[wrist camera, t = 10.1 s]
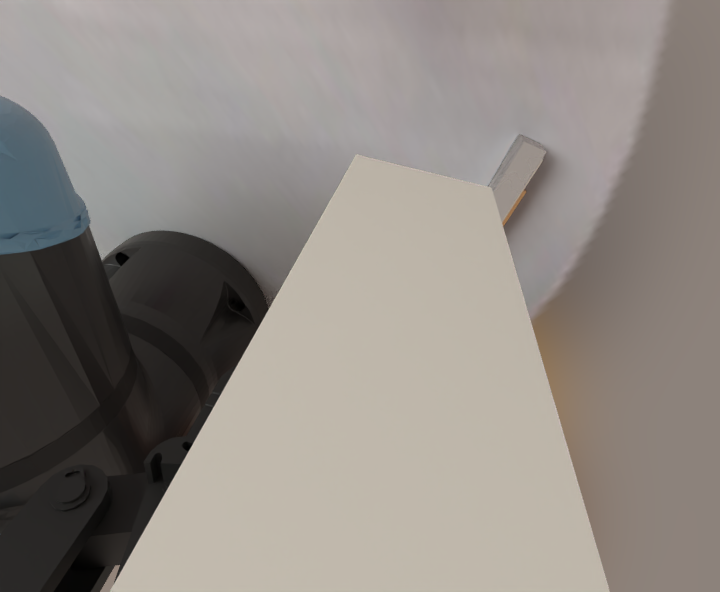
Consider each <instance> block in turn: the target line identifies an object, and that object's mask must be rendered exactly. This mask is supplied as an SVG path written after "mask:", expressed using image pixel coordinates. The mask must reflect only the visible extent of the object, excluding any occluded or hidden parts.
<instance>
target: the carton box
mask: <svg viewBox="0 0 720 592" xmlns="http://www.w3.org/2000/svg"><path fill="white" fill-rule="evenodd" d="M110 592H610V590H609V588H608V584H607V580H606V577H605V574H604V570H603V567H602V563H601V560H600V556H599V553H598V550H597V546H596V543H595V539H594V536H593V533H592V529H591V526H590V522H589V519H588V515H587V512H586V509H585V505H584V502H583V498H582V495H581V491H580V488H579V485H578V481H577V478H576V474H575V471H574V468H573V464H572V461H571V457H570V454H569V450H568V447H567V444H566V440H565V437H564V433H563V430H562V426H561V423H560V420H559V417H558V413H557V409H556V406H555V403H554V399H553V396H552V392H551V389H550V385H549V382H548V379H547V375H546V372H545V368H544V365H543V361H542V359H541V355H540V351H539V348H538V345H537V341H536V338H535V334H534V331H533V327H532V324H531V320H530V317H529V314H528V310H527V307H526V303H525V300H524V297H523V293H522V290H521V286H520V283H519V279H518V276H517V273H516V269H515V266H514V262H513V259H512V256H511V252H510V249H509V245H508V242H507V238H506V235H505V232H504V228H503V225H502V221H501V218H500V215H499V211H498V208H497V204H496V201H495V197H494V194H493V191H492V188H491V187H487V186H483V185H479V184H475V183H471V182H467V181H462V180H458V179H454V178H450V177H446V176H442V175H438V174H434V173H430V172H426V171H422V170H418V169H414V168H410V167H406V166H402V165H398V164H393V163H389V162H385V161H381V160H377V159H373V158H369V157H365V156H361V155H357V154H356V156H355V157H354V159H353V161H352V163H351V164H350V166H349V168H348V170H347V172H346V173H345V175H344V177H343V179H342V180H341V182H340V184H339V186H338V187H337V189H336V191H335V193H334V195H333V196H332V198H331V200H330V202H329V203H328V205H327V207H326V209H325V211H324V212H323V214H322V216H321V218H320V219H319V221H318V223H317V225H316V227H315V228H314V230H313V232H312V234H311V235H310V237H309V239H308V241H307V243H306V244H305V246H304V248H303V250H302V251H301V253H300V255H299V257H298V258H297V260H296V262H295V264H294V266H293V267H292V269H291V271H290V273H289V274H288V276H287V278H286V280H285V282H284V283H283V285H282V287H281V289H280V290H279V292H278V294H277V296H276V298H275V299H274V301H273V303H272V305H271V306H270V308H269V310H268V312H267V313H266V315H265V317H264V319H263V321H262V322H261V324H260V326H259V328H258V329H257V331H256V333H255V335H254V337H253V338H252V340H251V342H250V344H249V345H248V347H247V349H246V351H245V353H244V354H243V356H242V358H241V360H240V361H239V363H238V365H237V367H236V368H235V370H234V372H233V374H232V376H231V377H230V379H229V381H228V383H227V384H226V386H225V388H224V390H223V392H222V393H221V395H220V397H219V399H218V400H217V402H216V404H215V406H214V408H213V409H212V411H211V413H210V415H209V416H208V418H207V420H206V422H205V424H204V425H203V427H202V429H201V431H200V432H199V434H198V436H197V438H196V439H195V441H194V443H193V445H192V447H191V448H190V450H189V452H188V454H187V455H186V457H185V459H184V461H183V463H182V464H181V466H180V468H179V470H178V471H177V473H176V475H175V477H174V479H173V480H172V482H171V484H170V486H169V487H168V489H167V491H166V493H165V494H164V496H163V498H162V500H161V502H160V503H159V505H158V507H157V509H156V510H155V512H154V514H153V516H152V518H151V519H150V521H149V523H148V525H147V526H146V528H145V530H144V532H143V534H142V535H141V537H140V539H139V541H138V542H137V544H136V546H135V548H134V549H133V551H132V553H131V555H130V557H129V558H128V560H127V562H126V564H125V565H124V567H123V569H122V571H121V573H120V574H119V576H118V578H117V580H116V581H115V583H114V585H113V587H112V589H111V590H110Z"/></svg>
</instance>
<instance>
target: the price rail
mask: <svg viewBox="0 0 720 592" xmlns="http://www.w3.org/2000/svg"><path fill="white" fill-rule="evenodd" d="M545 154H546V150H545V149H544V148H543V146H542V145H541V144H540V143H538V142H535V141H533V140H531V139H529V138H527V137H525V136H522V135H520V134H519V135H518V137H517V138H516V140H515V142H514V143H513V145H512V147H511V148H510V150H509V152H508V153H507V155H506V157H505V159H504V160H503V162H502V164H501V165H500V167H499V169H498V170H497V172H496V174H495V175H494V177H493V179H492V180H491V182H490V184H489V185H488V187H491V188H492V191H493V194H494V197H495V201H496V204H497V208H498V211H499V215H500V218H501V221H502V225H503V226H504V225H505V223H506V222H507V220H508V219H509V217H510V216H511V214H512V213H513V211H514V210H515V208H516V207H517V205H518V204H519V202H520V201H521V199H522V198H523V196H524V195H525V193H526V190H525V187H526V186H527V184H528V183H529V181H530V180H531V178H532V177H533V175H534V174H535V172H536V171H537V169H538V167H539V166H540V164H541V163H542V161H543V157H544V156H545Z"/></svg>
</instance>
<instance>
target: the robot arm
mask: <svg viewBox="0 0 720 592" xmlns="http://www.w3.org/2000/svg"><path fill="white" fill-rule="evenodd" d="M89 224H90V218H89V216H88V211H87V210H86V206H85V203H84V202H83V200H82V199H81V198H80V197H79V195H78V194H76V193H75V190H74V188H73V186H72V183H71V181H70V178H69V176H68V174H67V171H66V169H65V167H64V164H63V162H62V160H61V157H60V155H59V152H58V150H57V148H56V145H55V143H54V141H53V139H52V138H51V136H50V134H49V132H48V131H47V130H46V128H45V127H44V126H43V124H42V123H41V122H40V121H39V120H38V119H37V118H36V117H35V116H33V115H32V114H31V113H30V112H29V111H27V110H26V109H24V108H23V107H21V106H20V105H18V104H17V103H15V102H13V101H11V100H9V99H7V98H5V97H2V96H0V592H100V590H101V589H102V587H103V585H104V584H105V582H106V580H107V578H108V577H109V575H110V573H111V572H112V570H113V568H114V566H115V565H120V567H119V570H118V573H117V576H116V579H115V581H116V580H117V578H118V576H119V574H120V573H121V571H122V569H123V567H124V565H125V564H126V562H127V560H128V558H129V557H130V555H131V553H132V551H133V549H134V548H135V546H136V544H137V542H138V541H139V539H140V537H141V535H142V534H143V532H144V530H145V528H146V526H147V525H148V523H149V521H150V519H151V518H152V516H153V514H154V512H155V510H156V509H157V507H158V505H159V503H160V502H161V500H162V498H163V496H164V494H165V493H166V491H167V489H168V487H169V486H170V484H171V482H172V480H173V479H174V477H175V475H176V473H177V471H178V470H179V468H180V466H181V464H182V463H183V461H184V459H185V457H186V455H187V454H188V452H189V450H190V448H191V447H192V445H193V443H194V441H195V439H196V438H197V436H198V434H199V432H200V431H201V429H202V427H203V425H204V424H205V422H206V420H207V418H208V416H209V415H210V413H211V411H212V409H213V408H214V406H215V404H216V402H217V400H218V399H219V397H220V395H221V393H222V392H223V390H224V388H225V386H226V384H227V383H228V381H229V379H230V377H231V376H232V374H233V372H234V370H235V368H236V367H237V365H238V363H239V361H240V360H241V358H242V356H243V354H244V353H245V351H246V349H247V347H248V345H249V344H250V342H251V340H252V338H253V337H254V335H255V333H256V331H257V329H258V328H259V326H260V324H261V322H262V321H263V319H264V317H265V315H266V313H267V312H268V307H267V304H266V301H265V298H264V296H263V294H262V292H261V290H260V288H259V287H258V285H257V284H256V282H255V281H254V279H253V278H252V277H251V276H250V274H249V273H248V272H247V271H246V270H245V269H244V268H243V267H242V266H241V265H240V264H239V263H238V262H237V261H236V260H235V259H233V258H232V257H231V256H229V255H228V254H227V253H225V252H224V251H222V250H221V249H219V248H218V247H216V246H214V245H212V244H210V243H208V242H206V241H204V240H202V239H199V238H196V237H194V236H191V235H187V234H183V233H178V232H172V231H151V232H145V233H141V234H138V235H136V236H133V237H131V238H129V239H128V240H126V241H125V242H123V243H122V244H121V245H119V246H118V247H117V248H115V249H114V250H113V251H111V252H110V253H109V254H108V255H107V256H106V257H105V258H104V259H103V260H102V261H101V258H100V255H99V252H98V249H97V247H96V244H95V241H94V238H93V236H92V233H91V230H90V227H89ZM114 583H115V582H114Z"/></svg>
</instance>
